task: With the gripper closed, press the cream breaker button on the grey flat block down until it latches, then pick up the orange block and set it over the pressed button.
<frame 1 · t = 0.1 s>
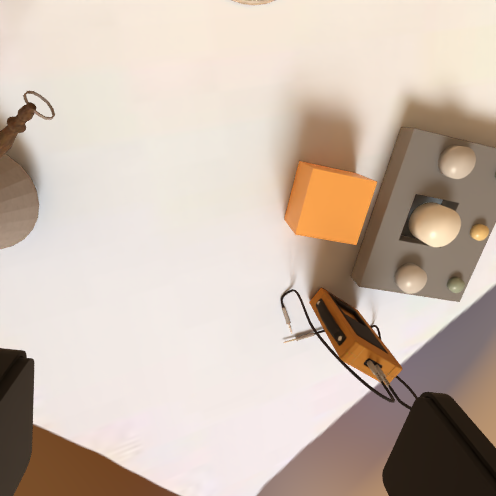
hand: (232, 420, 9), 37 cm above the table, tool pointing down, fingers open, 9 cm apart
grey flat block: (425, 217, 48), on the table
breaker button: (433, 224, 44), point 4 cm above the table, slide at 0.0 cm
coffee pot: (26, 166, 41), on the table
multimeter: (317, 323, 52), on the table
orange block: (319, 196, 45), on the table
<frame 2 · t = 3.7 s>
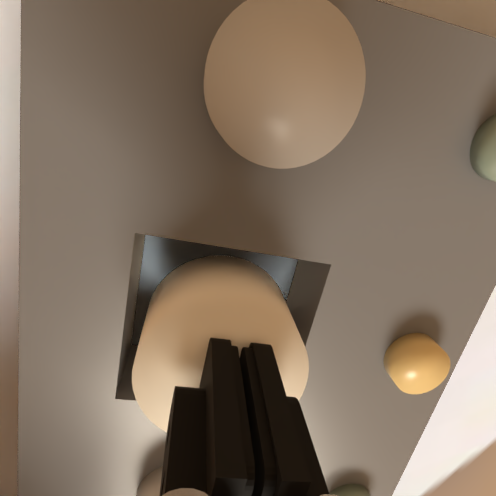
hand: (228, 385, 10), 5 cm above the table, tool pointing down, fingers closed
grey flat block: (251, 296, 15), on the table
breaker button: (220, 345, 11), point 4 cm above the table, slide at 0.5 cm, touching gripper
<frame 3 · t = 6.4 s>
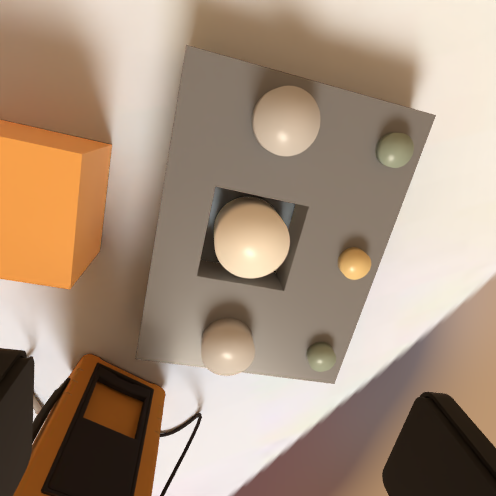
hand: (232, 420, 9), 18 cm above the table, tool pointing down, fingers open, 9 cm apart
grey flat block: (267, 232, 26), on the table
breaker button: (249, 236, 24), point 2 cm above the table, slide at 2.3 cm
multimeter: (99, 409, 30), on the table
orange block: (46, 188, 24), on the table
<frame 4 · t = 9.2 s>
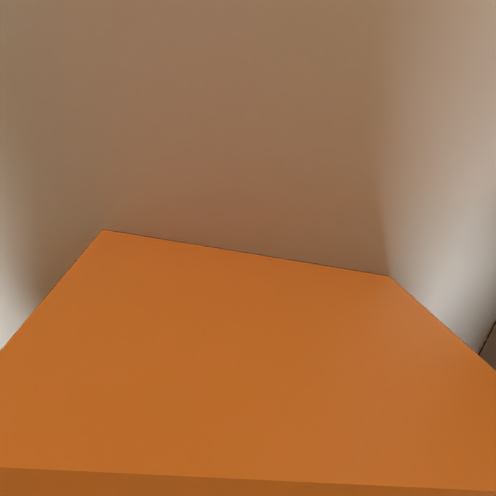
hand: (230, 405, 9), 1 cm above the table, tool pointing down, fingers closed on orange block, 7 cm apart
orange block: (228, 374, 10), on the table, touching gripper
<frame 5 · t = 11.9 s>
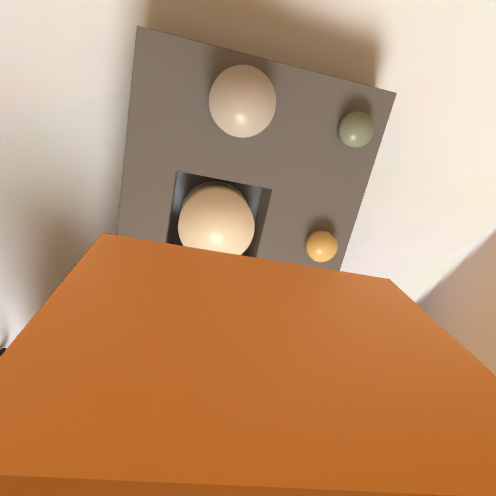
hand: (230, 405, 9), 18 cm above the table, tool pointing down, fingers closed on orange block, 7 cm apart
grey flat block: (235, 217, 26), on the table
breaker button: (215, 221, 24), point 2 cm above the table, slide at 2.3 cm
orange block: (227, 376, 10), point 17 cm above the table, touching gripper
when the fingers open (6 cm above the table, at t = 14.7 s): orange block drops 2 cm, resting on grey flat block.
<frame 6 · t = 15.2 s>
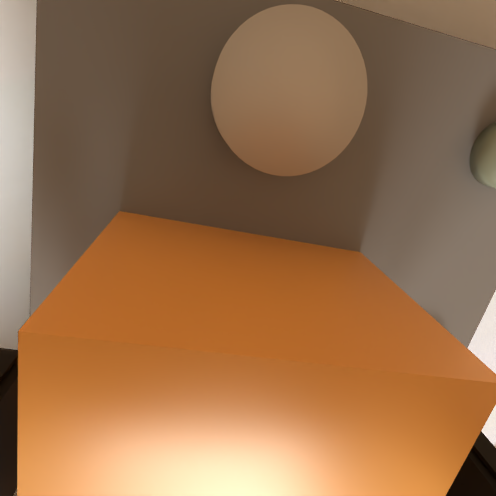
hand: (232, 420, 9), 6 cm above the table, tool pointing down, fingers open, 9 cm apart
grey flat block: (256, 299, 15), on the table
orange block: (223, 337, 12), point 3 cm above the table, touching grey flat block
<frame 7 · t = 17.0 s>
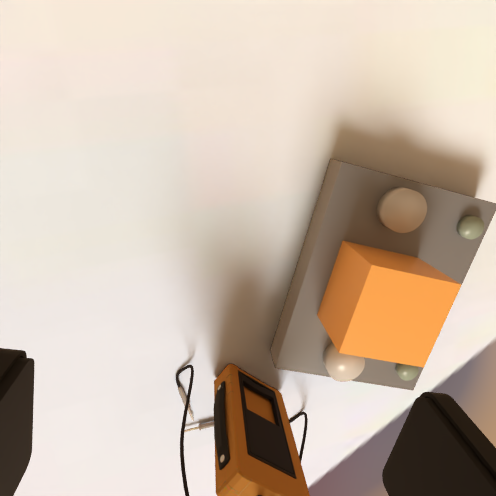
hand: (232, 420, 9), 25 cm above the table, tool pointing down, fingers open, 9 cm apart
grey flat block: (368, 277, 36), on the table
multimeter: (228, 407, 40), on the table
orange block: (366, 286, 33), point 3 cm above the table, touching grey flat block
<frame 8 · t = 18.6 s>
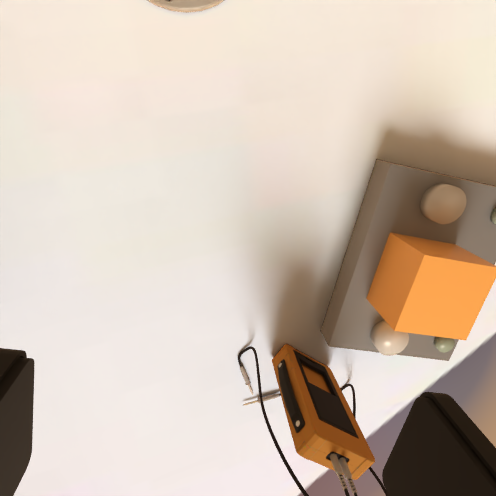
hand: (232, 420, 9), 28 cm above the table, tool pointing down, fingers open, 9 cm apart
grey flat block: (408, 262, 41), on the table
multimeter: (282, 382, 45), on the table
orange block: (410, 271, 37), point 3 cm above the table, touching grey flat block
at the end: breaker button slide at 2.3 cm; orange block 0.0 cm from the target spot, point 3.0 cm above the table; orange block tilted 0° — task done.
